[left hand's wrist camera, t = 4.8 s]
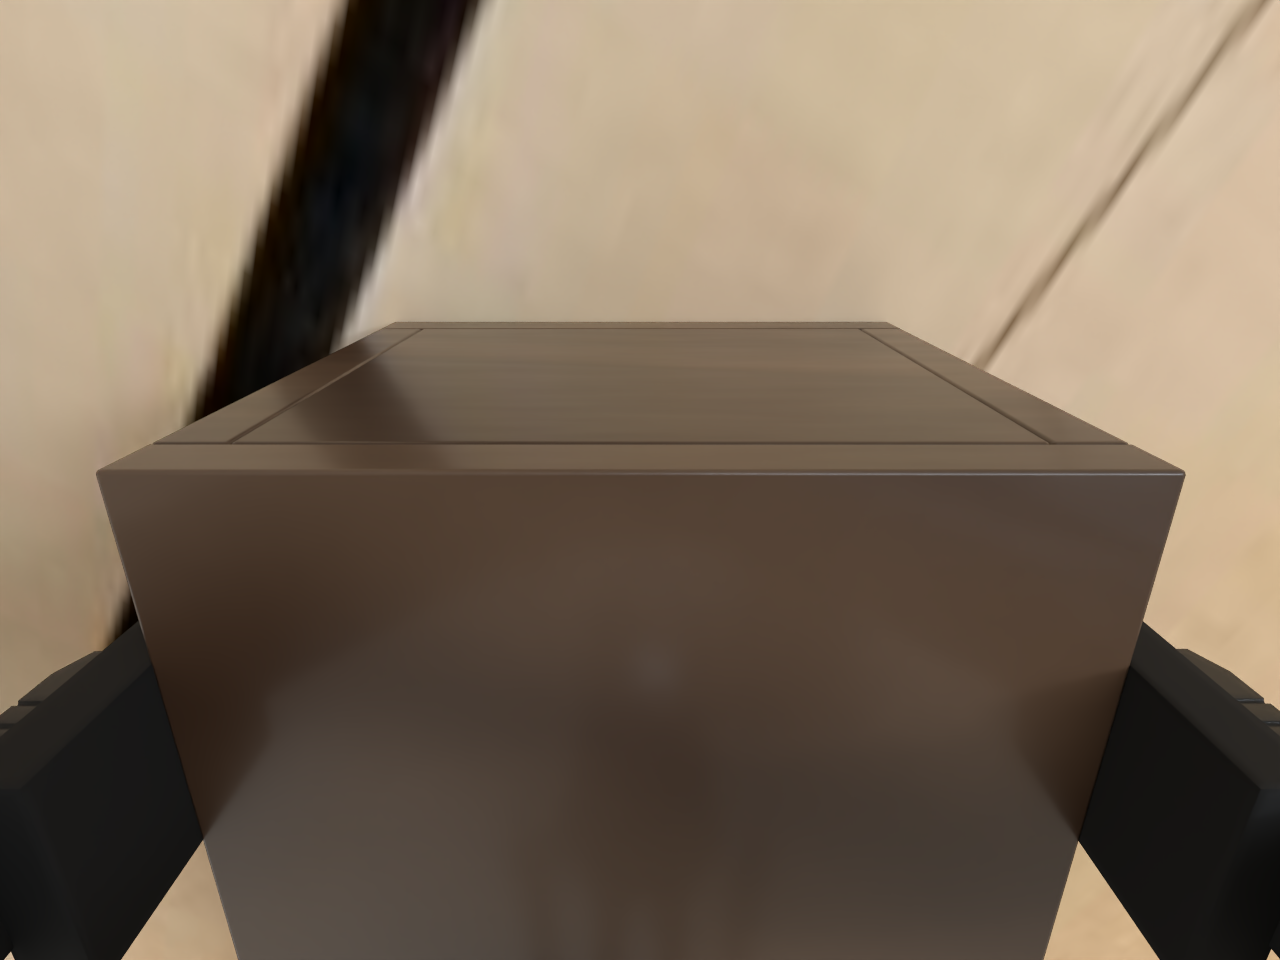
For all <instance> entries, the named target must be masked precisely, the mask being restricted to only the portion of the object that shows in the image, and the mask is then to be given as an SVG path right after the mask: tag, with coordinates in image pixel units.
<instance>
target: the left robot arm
mask: <svg viewBox="0 0 1280 960" xmlns="http://www.w3.org/2000/svg"><path fill="white" fill-rule="evenodd" d="M18 702H19V703H18V706H11V707H10V708H9V709H8V710H6V711H5V712H4V713H3V714H1V715H0V960H4V959H5V958H6V957H7V955H8V954H9V953H10V952H12V955H13V957H14V959H15V960H121V959H122V957H123V956H124V955H125V953H126V952H127V950H128V949H129V947H130V946H131V944H132V943H133V941H134V940H135V938H136V937H137V936H138V934H139V933H140V931H141V930H142V928H143V927H144V925H145V924H146V922H147V921H148V919H149V918H150V917H151V915H152V914H153V912H154V911H155V909H156V908H157V906H158V905H159V903H160V902H161V900H162V899H163V898H164V896H165V895H166V893H167V892H168V890H169V889H170V887H171V886H172V884H173V883H174V881H175V880H176V878H177V877H178V876H179V874H180V873H181V871H182V870H183V868H184V867H185V865H186V864H187V862H188V861H189V859H190V858H191V857H192V855H193V854H194V852H195V851H196V849H197V848H198V846H199V845H200V843H201V842H202V840H203V838H202V834H201V831H200V827H199V824H198V820H197V817H196V814H195V810H194V807H193V803H192V800H191V797H190V793H189V790H188V786H187V783H186V780H185V776H184V773H183V769H182V766H181V762H180V759H179V756H178V752H177V749H176V745H175V742H174V739H173V735H172V732H171V728H170V725H169V722H168V718H167V715H166V711H165V708H164V704H163V701H162V698H161V694H160V691H159V687H158V684H157V681H156V677H155V674H154V670H153V667H152V664H151V660H150V657H149V653H148V650H147V647H146V643H145V640H144V636H143V633H142V629H141V626H140V623H139V621H138V622H137V623H135V624H134V625H133V626H132V627H131V628H129V629H128V630H127V631H126V632H125V633H123V634H122V635H121V636H120V637H119V638H117V639H116V640H115V641H114V642H113V643H111V644H110V645H109V646H108V647H107V648H106V649H104V650H103V651H95V652H93V653H91V654H89V655H87V656H85V657H83V658H81V659H79V660H77V661H76V662H74V663H72V664H70V665H68V666H66V667H64V668H62V669H60V670H58V671H57V672H55V673H53V674H51V675H50V676H49V677H47V678H46V679H45V680H44V681H42V682H41V683H40V684H39V685H37V686H36V687H35V688H34V689H32V690H31V691H30V692H29V693H28V694H26V695H25V696H24V697H23V698H21V699H20V700H19V701H18ZM1078 841H1079V842H1080V844H1081V845H1082V847H1083V848H1084V850H1085V851H1086V852H1087V854H1088V855H1089V857H1090V858H1091V860H1092V861H1093V863H1094V864H1095V866H1096V867H1097V869H1098V870H1099V871H1100V873H1101V874H1102V876H1103V877H1104V879H1105V880H1106V882H1107V883H1108V885H1109V886H1110V888H1111V889H1112V890H1113V892H1114V893H1115V895H1116V896H1117V898H1118V899H1119V901H1120V902H1121V904H1122V905H1123V907H1124V908H1125V909H1126V911H1127V912H1128V914H1129V915H1130V917H1131V918H1132V920H1133V921H1134V923H1135V924H1136V926H1137V927H1138V929H1139V930H1140V931H1141V933H1142V934H1143V936H1144V937H1145V939H1146V940H1147V942H1148V943H1149V945H1150V946H1151V948H1152V949H1153V950H1154V952H1155V953H1156V955H1157V956H1158V958H1159V959H1160V960H1266V959H1267V957H1268V955H1269V953H1270V951H1271V949H1272V950H1273V951H1274V952H1275V954H1276V955H1277V956H1278V957H1279V958H1280V711H1279V710H1278V709H1276V708H1275V707H1274V706H1273V705H1271V704H1265V703H1264V698H1263V697H1261V696H1260V695H1259V694H1258V693H1256V692H1255V691H1254V690H1253V689H1251V688H1250V687H1249V686H1248V685H1246V684H1245V683H1244V682H1243V681H1241V680H1240V679H1239V678H1238V677H1236V676H1235V675H1234V674H1233V673H1231V672H1230V671H1228V670H1226V669H1224V668H1222V667H1220V666H1219V665H1217V664H1215V663H1213V662H1211V661H1209V660H1207V659H1205V658H1203V657H1201V656H1199V655H1198V654H1196V653H1194V652H1192V651H1190V650H1188V649H1175V648H1174V647H1173V646H1172V645H1171V644H1169V643H1168V642H1167V641H1166V640H1165V639H1163V638H1162V637H1161V636H1160V635H1159V634H1157V633H1156V632H1155V631H1154V630H1153V629H1151V628H1150V627H1149V626H1148V625H1147V624H1146V623H1144V622H1142V625H1141V629H1140V632H1139V635H1138V639H1137V642H1136V646H1135V649H1134V652H1133V656H1132V659H1131V663H1130V666H1129V670H1128V673H1127V676H1126V680H1125V683H1124V687H1123V690H1122V693H1121V697H1120V700H1119V704H1118V707H1117V710H1116V714H1115V717H1114V721H1113V724H1112V728H1111V731H1110V734H1109V738H1108V741H1107V745H1106V748H1105V751H1104V755H1103V758H1102V762H1101V765H1100V768H1099V772H1098V775H1097V779H1096V782H1095V786H1094V789H1093V792H1092V796H1091V799H1090V803H1089V806H1088V809H1087V813H1086V816H1085V820H1084V823H1083V826H1082V830H1081V833H1080V837H1079V840H1078Z"/></svg>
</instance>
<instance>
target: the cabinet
mask: <svg viewBox="0 0 1280 960" xmlns="http://www.w3.org/2000/svg"><path fill="white" fill-rule="evenodd" d="M96 476H97V479H98V483H99V486H100V490H101V493H102V496H103V500H104V503H105V507H106V510H107V514H108V517H109V520H110V524H111V527H112V531H113V534H114V537H115V541H116V544H117V548H118V551H119V554H120V558H121V561H122V565H123V568H124V571H125V575H126V578H127V582H128V585H129V589H130V592H131V595H132V599H133V602H134V606H135V609H136V612H137V616H138V619H139V623H140V626H141V629H142V633H143V636H144V640H145V643H146V647H147V650H148V653H149V657H150V660H151V664H152V667H153V670H154V674H155V677H156V681H157V684H158V687H159V691H160V694H161V698H162V701H163V704H164V708H165V711H166V715H167V718H168V722H169V725H170V728H171V732H172V735H173V739H174V742H175V745H176V749H177V752H178V756H179V759H180V762H181V766H182V769H183V773H184V776H185V780H186V783H187V786H188V790H189V793H190V797H191V800H192V803H193V807H194V810H195V814H196V817H197V820H198V824H199V827H200V831H201V834H202V838H203V841H204V844H205V848H206V851H207V855H208V858H209V861H210V865H211V868H212V872H213V875H214V878H215V882H216V885H217V889H218V892H219V895H220V899H221V902H222V906H223V909H224V913H225V916H226V919H227V923H228V926H229V930H230V933H231V936H232V940H233V943H234V947H235V950H236V953H237V957H238V960H1044V956H1045V953H1046V949H1047V946H1048V943H1049V939H1050V936H1051V932H1052V929H1053V925H1054V922H1055V919H1056V915H1057V912H1058V908H1059V905H1060V902H1061V898H1062V895H1063V891H1064V888H1065V885H1066V881H1067V878H1068V874H1069V871H1070V867H1071V864H1072V861H1073V857H1074V854H1075V850H1076V847H1077V844H1078V840H1079V837H1080V833H1081V830H1082V826H1083V823H1084V820H1085V816H1086V813H1087V809H1088V806H1089V803H1090V799H1091V796H1092V792H1093V789H1094V786H1095V782H1096V779H1097V775H1098V772H1099V768H1100V765H1101V762H1102V758H1103V755H1104V751H1105V748H1106V745H1107V741H1108V738H1109V734H1110V731H1111V728H1112V724H1113V721H1114V717H1115V714H1116V710H1117V707H1118V704H1119V700H1120V697H1121V693H1122V690H1123V687H1124V683H1125V680H1126V676H1127V673H1128V670H1129V666H1130V663H1131V659H1132V656H1133V652H1134V649H1135V646H1136V642H1137V639H1138V635H1139V632H1140V629H1141V625H1142V622H1143V618H1144V615H1145V611H1146V608H1147V605H1148V601H1149V598H1150V594H1151V591H1152V588H1153V584H1154V581H1155V577H1156V574H1157V571H1158V567H1159V564H1160V560H1161V557H1162V553H1163V550H1164V547H1165V543H1166V540H1167V536H1168V533H1169V530H1170V526H1171V523H1172V519H1173V516H1174V513H1175V509H1176V506H1177V502H1178V499H1179V495H1180V492H1181V489H1182V485H1183V482H1184V478H1185V472H1184V470H1182V469H1180V468H1178V467H1176V466H1174V465H1172V464H1170V463H1168V462H1166V461H1164V460H1162V459H1160V458H1158V457H1156V456H1154V455H1152V454H1150V453H1148V452H1146V451H1144V450H1142V449H1140V448H1138V447H1136V446H1133V445H1128V443H1127V442H1125V441H1123V440H1121V439H1119V438H1117V437H1115V436H1113V435H1111V434H1109V433H1107V432H1105V431H1103V430H1101V429H1099V428H1097V427H1095V426H1093V425H1091V424H1089V423H1087V422H1085V421H1083V420H1081V419H1079V418H1077V417H1075V416H1073V415H1071V414H1069V413H1067V412H1065V411H1063V410H1061V409H1059V408H1057V407H1055V406H1053V405H1051V404H1049V403H1047V402H1045V401H1043V400H1041V399H1039V398H1037V397H1035V396H1033V395H1031V394H1029V393H1027V392H1025V391H1023V390H1021V389H1019V388H1017V387H1015V386H1013V385H1011V384H1009V383H1007V382H1005V381H1003V380H1001V379H999V378H997V377H995V376H993V375H991V374H989V373H987V372H985V371H983V370H981V369H979V368H977V367H975V366H973V365H971V364H969V363H967V362H965V361H963V360H961V359H959V358H957V357H955V356H953V355H951V354H949V353H947V352H945V351H943V350H941V349H939V348H937V347H935V346H933V345H931V344H929V343H927V342H925V341H923V340H921V339H919V338H917V337H915V336H913V335H911V334H909V333H907V332H905V331H903V330H901V329H900V328H898V327H896V326H894V325H892V324H890V323H887V322H395V323H393V324H391V325H389V326H387V327H385V328H383V329H381V330H379V331H377V332H375V333H373V334H371V335H369V336H367V337H365V338H363V339H361V340H359V341H357V342H355V343H353V344H351V345H349V346H347V347H345V348H342V349H340V350H338V351H336V352H334V353H332V354H330V355H328V356H326V357H324V358H322V359H320V360H318V361H316V362H314V363H312V364H310V365H308V366H306V367H304V368H302V369H300V370H298V371H296V372H294V373H292V374H290V375H288V376H286V377H284V378H282V379H280V380H278V381H276V382H274V383H272V384H270V385H268V386H266V387H264V388H262V389H260V390H258V391H256V392H254V393H252V394H250V395H248V396H246V397H244V398H242V399H240V400H238V401H236V402H234V403H232V404H230V405H228V406H226V407H224V408H222V409H220V410H218V411H216V412H214V413H212V414H210V415H208V416H206V417H204V418H202V419H200V420H198V421H196V422H194V423H192V424H190V425H188V426H186V427H184V428H182V429H180V430H178V431H176V432H174V433H172V434H170V435H168V436H166V437H164V438H162V439H160V440H158V441H156V442H154V443H153V444H152V445H148V446H146V447H144V448H142V449H140V450H138V451H136V452H134V453H132V454H130V455H128V456H126V457H124V458H122V459H120V460H118V461H116V462H114V463H112V464H110V465H108V466H106V467H104V468H102V469H100V470H98V471H97V473H96Z"/></svg>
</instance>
